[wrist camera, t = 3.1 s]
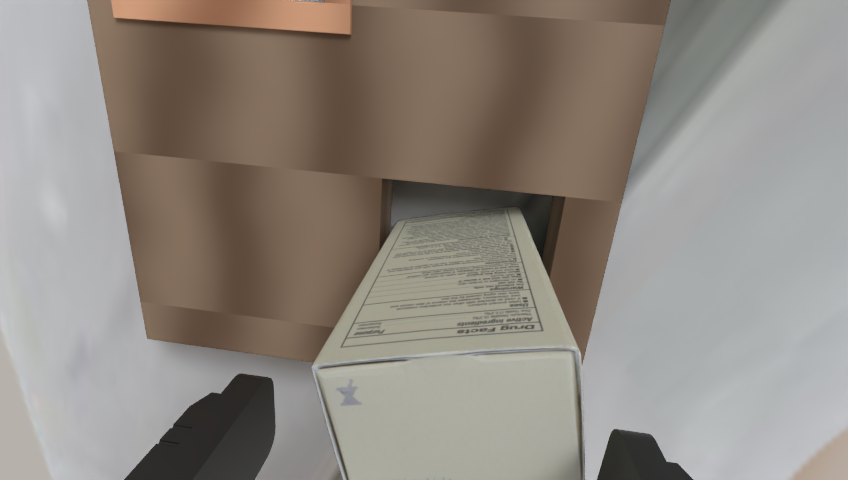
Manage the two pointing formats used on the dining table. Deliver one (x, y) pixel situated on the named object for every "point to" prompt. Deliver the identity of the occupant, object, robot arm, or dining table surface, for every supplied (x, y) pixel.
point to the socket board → (356, 144)
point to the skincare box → (454, 359)
